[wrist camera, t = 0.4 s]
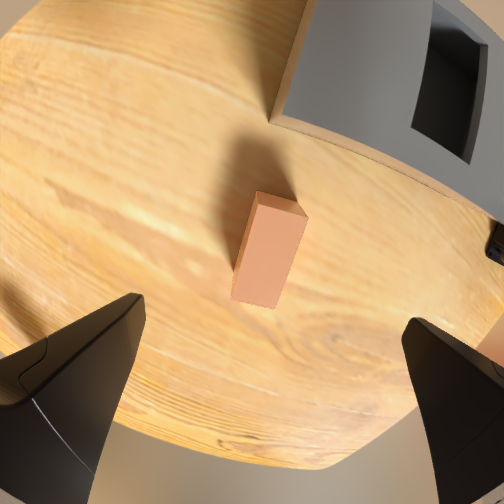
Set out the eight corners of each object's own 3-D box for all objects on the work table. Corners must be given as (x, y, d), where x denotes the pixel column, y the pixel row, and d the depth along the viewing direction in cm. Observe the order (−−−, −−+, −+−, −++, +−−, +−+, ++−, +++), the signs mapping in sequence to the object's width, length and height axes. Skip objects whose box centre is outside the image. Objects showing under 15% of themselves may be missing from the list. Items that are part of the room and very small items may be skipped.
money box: (474, 79, 14) (533, 77, 7) (446, 196, 19) (506, 226, 12) (311, -13, 12) (338, -66, 6) (268, 122, 17) (281, 114, 10)
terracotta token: (297, 201, 19) (308, 217, 16) (270, 279, 22) (274, 309, 18) (256, 190, 19) (258, 203, 15) (233, 270, 22) (230, 299, 18)
